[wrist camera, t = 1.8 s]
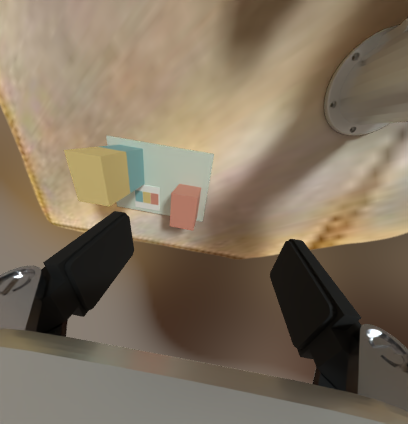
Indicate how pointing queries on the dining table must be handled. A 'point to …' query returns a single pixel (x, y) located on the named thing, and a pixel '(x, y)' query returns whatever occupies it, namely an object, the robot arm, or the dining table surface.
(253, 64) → the dining table surface
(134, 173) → the tower base
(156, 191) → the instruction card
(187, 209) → the brick
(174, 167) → the mat
